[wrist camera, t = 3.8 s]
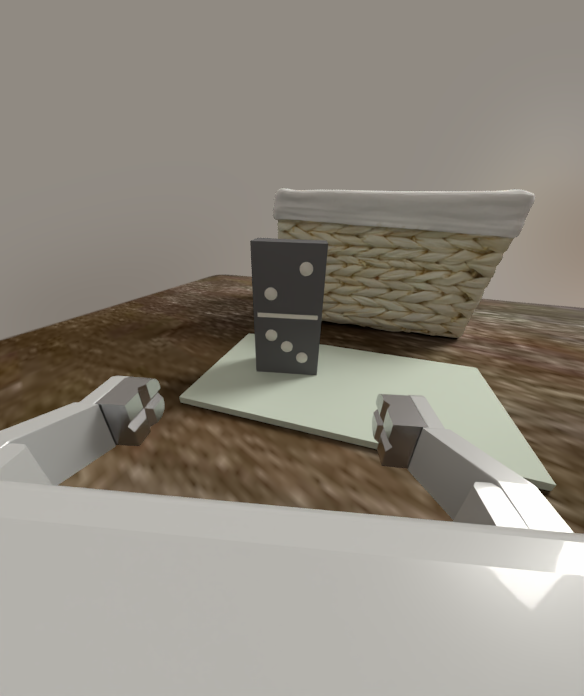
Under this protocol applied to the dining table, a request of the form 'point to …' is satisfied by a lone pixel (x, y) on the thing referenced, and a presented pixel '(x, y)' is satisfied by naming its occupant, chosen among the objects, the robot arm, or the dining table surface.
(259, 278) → the domino
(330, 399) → the mat
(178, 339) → the dining table surface
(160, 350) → the dining table surface
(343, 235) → the storage basket
